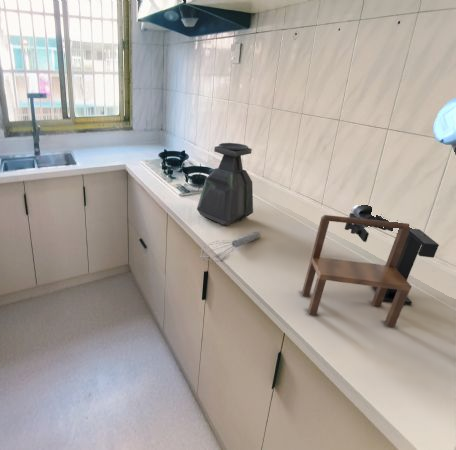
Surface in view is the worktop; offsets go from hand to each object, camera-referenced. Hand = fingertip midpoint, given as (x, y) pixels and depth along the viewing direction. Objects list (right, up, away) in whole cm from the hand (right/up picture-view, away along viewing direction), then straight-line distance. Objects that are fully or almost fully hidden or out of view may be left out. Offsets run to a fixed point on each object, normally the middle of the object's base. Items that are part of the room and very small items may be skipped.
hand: (391, 240), depth 97 cm
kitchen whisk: (-42, -4, +19) cm, 46 cm away
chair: (-19, -17, -9) cm, 27 cm away
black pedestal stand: (-3, -16, -5) cm, 17 cm away
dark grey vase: (-39, +8, +45) cm, 60 cm away
